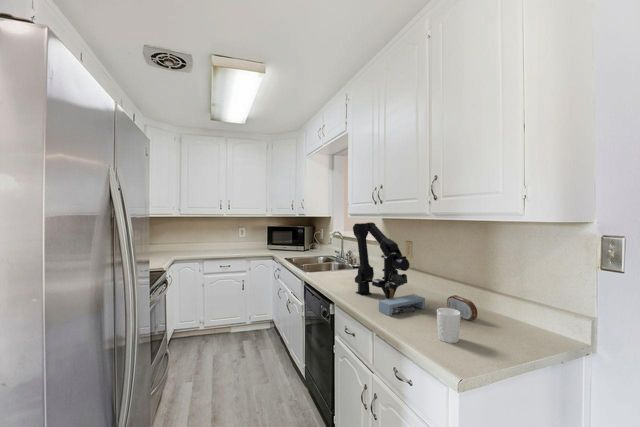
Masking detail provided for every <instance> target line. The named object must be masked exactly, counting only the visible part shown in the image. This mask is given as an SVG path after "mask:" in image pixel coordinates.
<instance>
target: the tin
mask: <svg viewBox="0 0 640 427" xmlns="http://www.w3.org/2000/svg"><path fill="white" fill-rule="evenodd" d="M446 304H447V308H451V309H455V310H457V311H459V312H460V313H461V314H460V319H463V320H465V321H474V320H476V319H477V318H478V309H477V307H476V305H475V303H474V302H473V301H472V300H470V299H467V298H464V297H462V296H459V295H450V296H448V298H447V300H446Z"/></svg>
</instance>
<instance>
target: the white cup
mask: <svg viewBox="0 0 640 427" xmlns="http://www.w3.org/2000/svg"><path fill="white" fill-rule="evenodd" d="M460 314H461V313H460V312H459V311H457V310H455V309H451V308H448V307H440V308H437V309H436V325H437V326H436V327H437V337H438V339H439V341H442V342H444V343H449V344H455V343H458V342H459V339H460V338H459V337H460V331H461V330H460V329H461V328H460V327H461V318H460Z"/></svg>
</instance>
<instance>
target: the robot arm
mask: <svg viewBox="0 0 640 427" xmlns="http://www.w3.org/2000/svg"><path fill="white" fill-rule="evenodd" d="M352 230H353V232H352V233H353V235H354V237H355V238H356V240H357V249H358V260H359V266H358V268H357V269H358V270H357V275H356V276H355V277H354V283H356V284H357V291H355V294H356V293H357V294H359V295H360V296H366V295H371V294H372V292H370V283H371V286H373V287H375V288H376V287H377V288H381V290H382V292H383V294H384V296H385V299H386V298H387V299H389V289H390V288H391V289H394V295H395V293H396V291H397V289H398V287H401V286H404V284H408V275H407V274H406V273H402V274H401V273H400V274H399V271H404V272H406V271H408V270H409V268H410V262H409V260H408V259H407V256H406V255H405V256H404V255H403V254H402V252H401V250H400V248H399V245H398V244H397V242H395V241H394V240H393V239H391V238H388V237H387V236H386V235H385V234H384V232H382V230H380V229H379V227H378V226H377V225H376V223H374V222H370V221H369V222H365V223H364V222H363V223H359V222H358V223H354V224H353V226H352ZM369 234H370V235H371V236H372V238H374V239H375V240H376V241H377V243H378V244H379V248H380V250H381V251H382V253H383V254H382V255H381V256H380V257H381V258H383V268H382V272H383V276H382V278H381V279H380V278H376V279H374V275H375V272H374V266H371V265H370V262H369V253H368V251H369V250H368V244H367V242H368V241H367V237H368V235H369ZM398 270H399V271H398Z"/></svg>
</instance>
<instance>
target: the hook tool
mask: <svg viewBox="0 0 640 427" xmlns="http://www.w3.org/2000/svg"><path fill="white" fill-rule="evenodd" d="M391 298H395V294H394V289H391V288H390V289H389V299H391ZM385 299H387V298H386V297H385ZM400 307H401V308H400ZM399 308H400V314H401V315H406V314H411V313H414V312H415V306H413V305H410V304H408V305H403V306H399Z"/></svg>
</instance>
